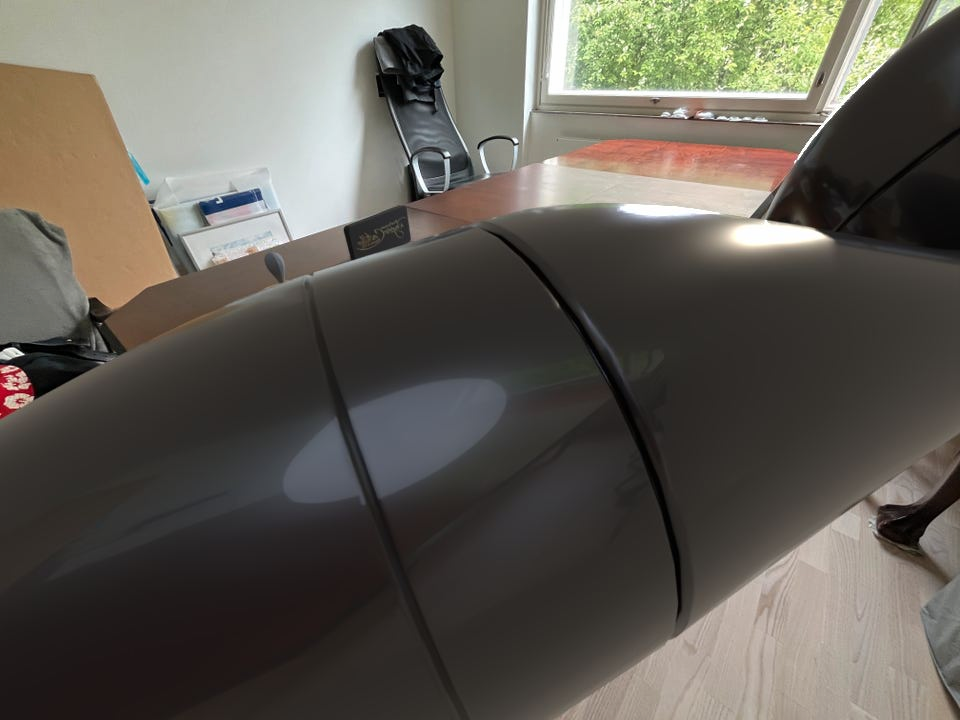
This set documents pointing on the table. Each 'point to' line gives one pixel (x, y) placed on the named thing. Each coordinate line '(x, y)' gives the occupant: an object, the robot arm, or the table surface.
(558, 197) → the table surface
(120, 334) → the table surface
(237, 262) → the table surface
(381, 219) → the nameplate
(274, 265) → the rubber stamp
